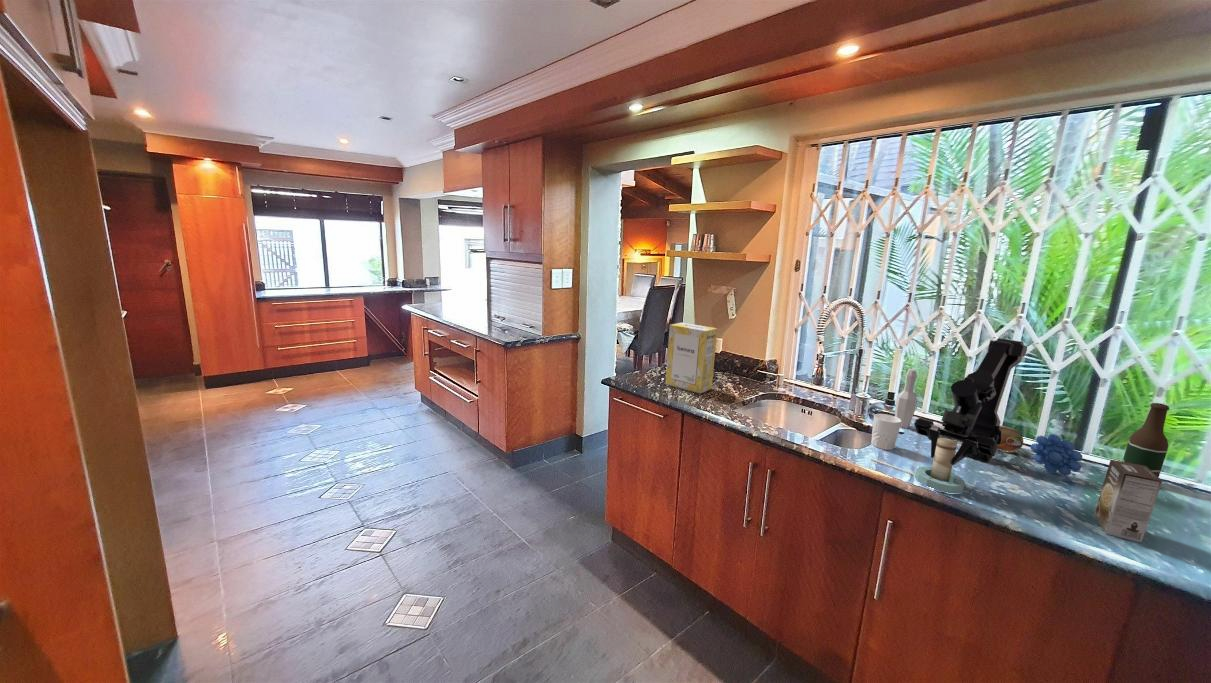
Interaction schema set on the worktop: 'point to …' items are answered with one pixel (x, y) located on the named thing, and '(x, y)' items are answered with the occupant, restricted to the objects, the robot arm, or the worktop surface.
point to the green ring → (952, 486)
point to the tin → (1010, 440)
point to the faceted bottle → (906, 400)
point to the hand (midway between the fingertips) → (941, 460)
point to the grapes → (1056, 454)
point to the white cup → (885, 431)
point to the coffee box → (1127, 500)
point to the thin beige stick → (892, 466)
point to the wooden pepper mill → (943, 459)
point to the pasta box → (691, 357)
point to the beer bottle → (1149, 441)
